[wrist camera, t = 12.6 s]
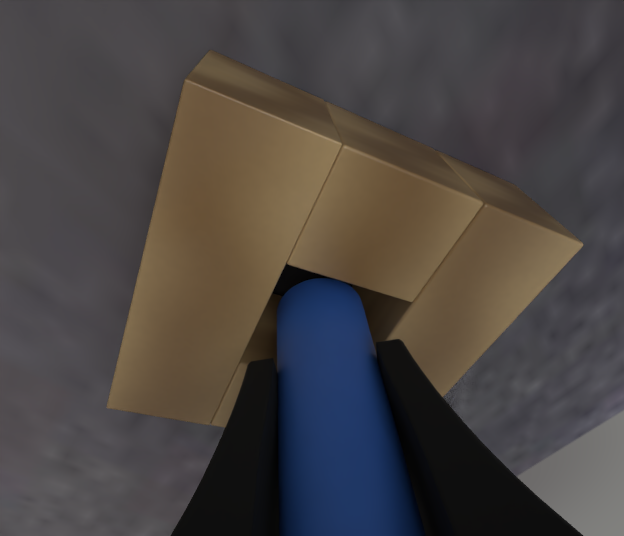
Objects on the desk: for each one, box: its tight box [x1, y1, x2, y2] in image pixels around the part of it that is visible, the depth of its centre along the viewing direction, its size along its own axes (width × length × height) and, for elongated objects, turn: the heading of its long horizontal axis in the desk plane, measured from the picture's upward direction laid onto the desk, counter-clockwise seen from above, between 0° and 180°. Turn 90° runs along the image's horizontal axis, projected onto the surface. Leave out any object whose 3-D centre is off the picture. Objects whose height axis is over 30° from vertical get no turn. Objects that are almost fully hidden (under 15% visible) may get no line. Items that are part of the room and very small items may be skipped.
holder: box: [107, 50, 583, 427], centre depth 14 cm, size 11×11×4 cm
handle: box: [277, 278, 426, 536], centre depth 10 cm, size 3×3×9 cm
